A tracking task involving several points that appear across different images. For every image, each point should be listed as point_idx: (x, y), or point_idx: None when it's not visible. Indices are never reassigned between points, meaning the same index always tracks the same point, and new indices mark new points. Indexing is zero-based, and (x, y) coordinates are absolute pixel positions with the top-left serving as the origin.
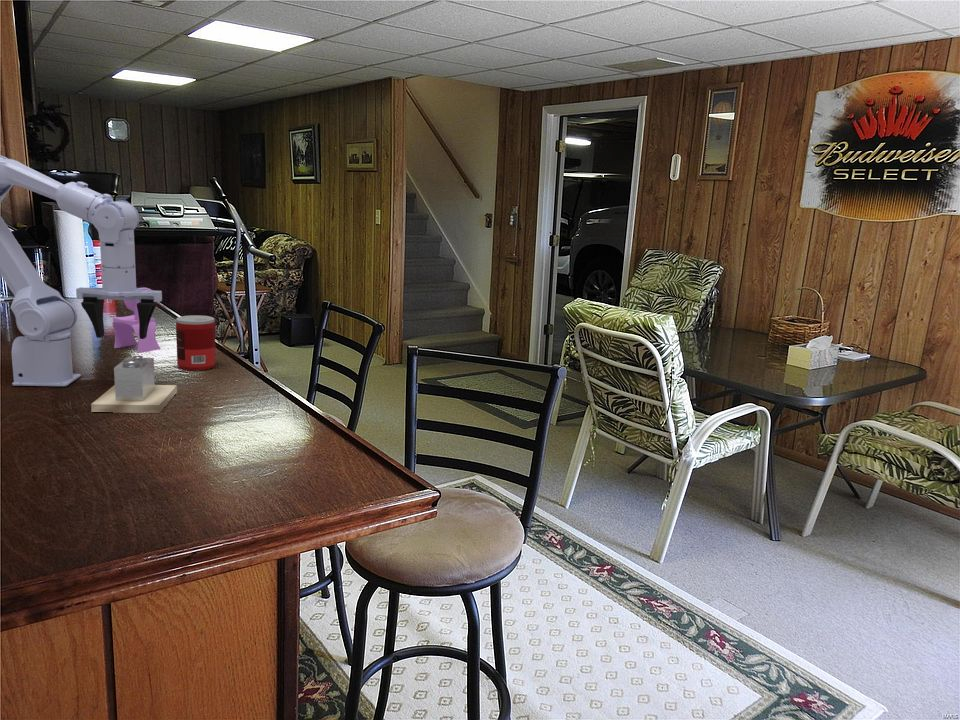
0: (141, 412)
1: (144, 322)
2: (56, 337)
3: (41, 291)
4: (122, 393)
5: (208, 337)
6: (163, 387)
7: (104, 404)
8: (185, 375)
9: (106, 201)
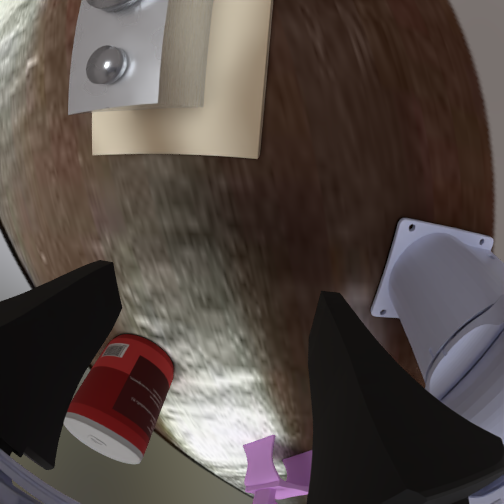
0: None
1: (24, 293)
2: (481, 321)
3: None
4: None
5: (79, 388)
6: (116, 128)
7: None
8: (136, 306)
9: None
